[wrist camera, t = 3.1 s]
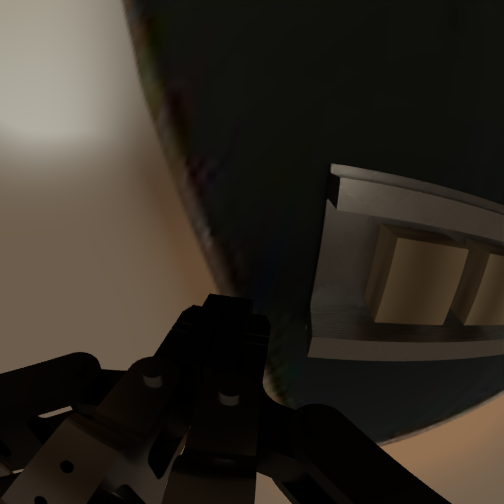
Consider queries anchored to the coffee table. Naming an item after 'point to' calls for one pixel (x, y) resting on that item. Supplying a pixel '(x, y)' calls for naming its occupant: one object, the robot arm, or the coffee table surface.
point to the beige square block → (413, 276)
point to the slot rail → (361, 258)
